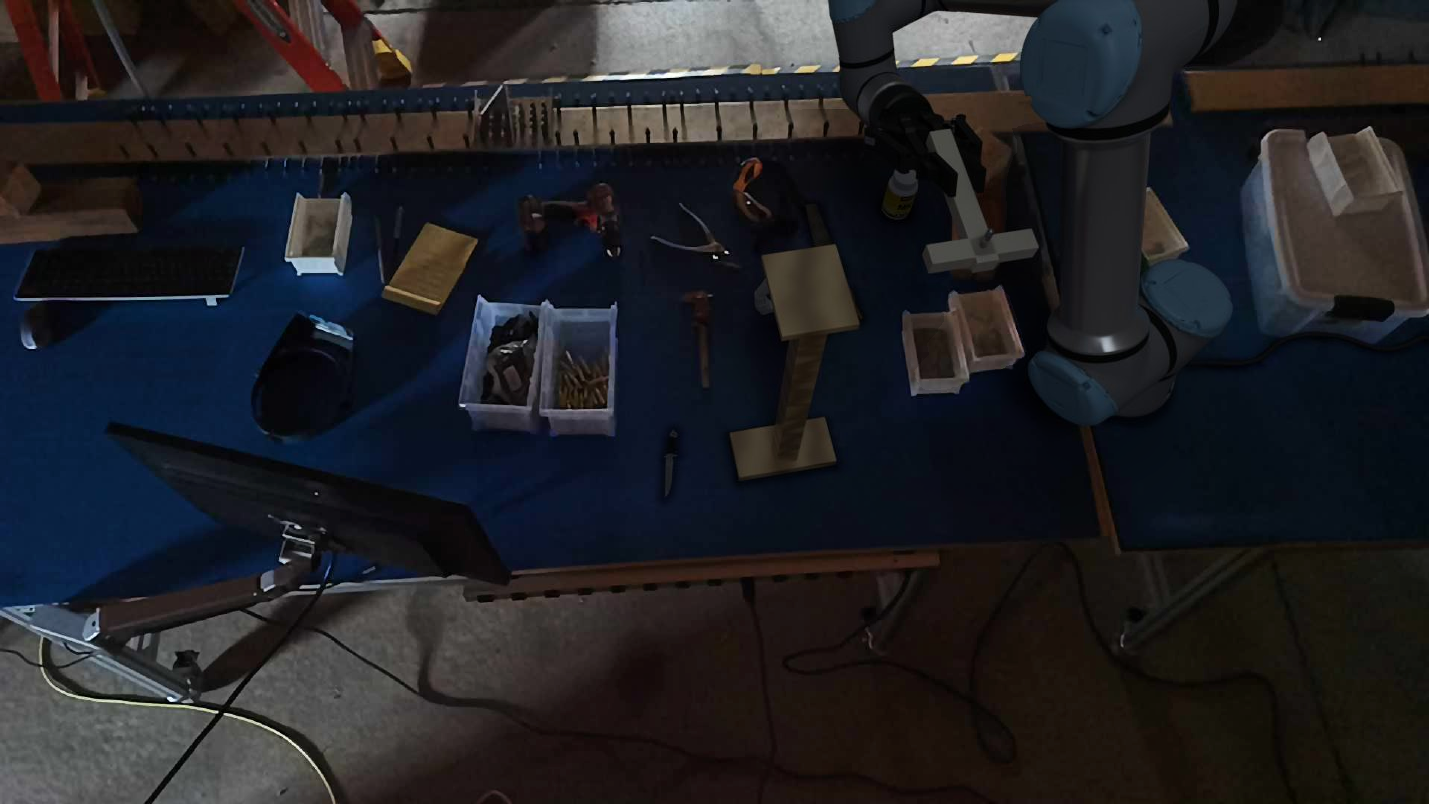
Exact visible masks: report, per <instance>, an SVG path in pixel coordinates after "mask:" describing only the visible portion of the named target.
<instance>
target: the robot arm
mask: <svg viewBox="0 0 1429 804" xmlns="http://www.w3.org/2000/svg"><path fill="white" fill-rule="evenodd" d="M827 4H828V5H827V6H828V13H829V19H830V20H831V25H832V30H833V34H834V40H835V44H836V49H837V53H838V66H839V69H838V73H837V76H836V88H837V91H838V94H839V96H840V98H841V100H842V102H843V103H844V104H845V106H846V107H847V108H848V109H849V110H850V111H852V113H853V114H854V115H856V116H857V118H858V119H859V120H861V122H862V123H863V124H864V125H865V127H864V129H863V149H864V150H867V151H869V152H872V153H874V154H876V155H877V156H878V157H880V158H881V159H882V160H883V161H885V163H886V164H888V165H889V166H890V167H892V168H893V169H894V171H895V170H897V171H898V172H899V173H901V174H908V173H909V172H910V170H915V172H916V179H917V180H918V181H925V180H927V181H929V182H934V184H936V186H937V187H939V189H940V190H941V191H942V193H943V192H944V193H945V194H946V195H947V196H948V197H949V198H951V197H956V191H957V181H958V173H957V172H956V171H955V170H954V169H953V168H952V167H951V166H950V165H949V164H948V163H947V162H946V161H945V160H944V159H943V158H942V157H941V156H940V155H939V154H938V153H937V152H929V151H928V148H927V145H926V141H927V138H928V135H929V133H930V132H931V131H938V130H945V129H951V132H952V135H953V137H954V140H955V143H956V145H957V148H958V151H959V153H960V156H961V159H962V161H963V164H964V166H965V169H966V172H967V174H968V177H969V180H970V182H971V185H972V188H973V190H974V193H975V194H983V193H985V187H986V186H985V185H986V179H987V178H986V177H987V171H988V169H987V168H986V167H985V166H984V165H983V164H982V153H983V145H984V142H983V140H982V139H981V138H980V137H979V135H978V134H977V133H976V132H975V131H974V129H973V128H972V126H970V125H969V123H968V122H967V115H966V114H964V113H958V114H956V115H955V117H952V118H951V119H945V118H944V116H943V115H942V114H939V113H936V112H934V109H933V107H932V105H931V103H930V100H928V98H927V97H925V96H924V95H923V94H922V93H921V91H919V90H918V89H916V87H914V85H912V84H911V83H910V82H909V81H907V80H906V79H905V78H904V77H902V75H900V73H899V72H898V68H897V61H896V60H897V59H896V53H895V51H896V49H895V41H894V33H896V32H897V31H900V30H901V29H903V28H905V27H907V26H909V25H911V24H913V23H915V22H917V21H919V20H921V19H923V18H925V17H926V16H928V15H931V14H932V13H935V12H947V13H967V14H979V15H980V14H981V15H993V16H994V15H996V16H997V15H998V16H1006V17H1007V16H1008V17H1022V18H1023V17H1024V18H1033V19H1034V18H1035V20H1034V21H1033V23H1032V24H1031V26H1030V28H1029V30H1028V31H1027V33H1026V35H1025V39H1024V40H1023V44H1022V48H1021V52H1020V60H1019V77H1020V83H1021V87H1022V90H1023V92H1024V95H1025V96H1026V97H1030V98H1031V103H1030V105H1029V106H1030V107H1031V109H1032V110H1033V111H1034V113H1035V114H1036V115H1037V116H1038V117H1039V118H1040V119H1042V120H1043V121H1044V122H1045V126H1046V128H1047V130H1048V131H1049V132H1050V133H1051V134H1052V135H1053V136H1055V137H1057V138H1058V139H1060V249H1059V250H1060V252H1059V253H1060V260H1059V261H1060V265H1059V266H1060V270H1059V271H1060V273H1059V278H1060V279H1059V290H1060V291H1059V305H1058V306H1056V307H1055V308H1054V309H1053V310H1052V311H1051V313H1050V314H1049V317H1048V318H1047V323H1046V329H1047V330H1046V346H1045V347H1044V349H1042V350H1039V351H1037V352H1036V353H1034V356H1032V358H1031V359H1030V360H1029V362H1028V366H1027V375H1028V377H1029V378H1028V379H1029V381H1030V384H1031V386H1032V387H1033V389H1034V391H1035V393H1036V394H1037V396H1038V398H1040V399H1041V401H1043V403H1044V404H1045V405H1046V406H1047V407H1048V408H1049V409H1050V410H1051V411H1052V412H1054V413H1055V414H1056V415H1058V416H1059V417H1060V418H1062V419H1063V420H1065V421H1068V422H1069V423H1072V424H1074V425H1077V426H1080V427H1091V426H1096V425H1099V424H1102V423H1103V422H1105V421H1106V420H1107V419H1113V420H1119V421H1135V420H1141V419H1145V418H1148V417H1149V416H1152V415H1153V414H1155V413H1156V412H1157V411H1158V410H1159V409H1160V408H1161V407H1162V406H1163V405H1165V404H1166V402H1167V401H1168V400H1169V398H1170V397H1171V394H1172V393H1173V390H1174V387H1175V384H1176V383H1175V382H1176V378H1177V377H1178V373H1179V371H1181V369H1183V368H1184V367H1187V366H1188V367H1193V366H1194V367H1196V366H1203V367H1204V366H1217V367H1245V366H1249V365H1254V364H1257V363H1259V362H1261V361H1263V360H1264V359H1266V358H1267V357H1268V356H1270V355H1271V354H1272V353H1273V352H1274V351H1275V350H1276V349H1278V348H1279V347H1280V346H1281V345H1282V344H1285V343H1287V342H1290V341H1294V340H1297V339H1302V338H1332V339H1338V340H1343V341H1346V342H1349V343H1352V344H1355V345H1357V346H1360V347H1363V348H1366V349H1369V350H1373V351H1377V352H1385V353H1386V352H1389V353H1391V352H1397V351H1401V350H1404V349H1406V348H1409V347H1411V346H1414V345H1415V344H1417V343H1420V342H1423V341H1425V342H1429V335H1425V334H1424V335H1420V336H1417V337H1415V338H1413V339H1411V340H1408V341H1406V342H1404V343H1401V344H1398V345H1393V346H1381V345H1376V344H1372V343H1368V342H1366V341H1364V340H1361V339H1358V338H1355V337H1352V336H1349V335H1345V334H1342V333H1337V332H1325V331H1307V332H1305V331H1304V332H1299V333H1294V334H1291V335H1288V336H1284V337H1283V338H1280V339H1278V340H1277V341H1275V342H1274V343H1273V344H1272V345H1271V346H1269V347H1268V348H1267V349H1266V350H1265V351H1264V352H1262V353H1261V354H1260V355H1258V356H1256V357H1253V358H1250V359H1247V360H1231V361H1230V360H1192V359H1193V358H1194V357H1195V356H1196V355H1197V354H1199V352H1200V351H1201V350H1202V349H1203V348H1204V347H1206V345H1207V344H1209V342H1210V341H1211V340H1213V339H1214V338H1216V337H1217V336H1219V335H1220V334H1221V333H1223V331H1224V329H1225V327H1226V326H1227V324H1228V323H1229V321H1230V320H1231V318H1232V315H1233V312H1234V311H1233V310H1234V309H1233V308H1234V307H1233V303H1232V301H1231V299H1232V297H1231V293H1230V291H1229V290H1228V288H1227V286H1226V285H1225V283H1224V282H1223V281H1222V280H1221V279H1220V278H1219V277H1218V276H1217V275H1216V274H1215V273H1214V272H1212V271H1211V270H1209V269H1208V268H1206V267H1204V266H1203V265H1201V264H1198V263H1197V262H1194V261H1186V260H1184V259H1181V258H1167V259H1163V260H1159V261H1158V262H1156V263H1154V264H1152V265H1151V266H1150V267H1149V268H1147V269H1146V270H1145V271H1143V272H1142V274H1141V268H1142V267H1141V266H1142V251H1143V240H1144V225H1145V214H1146V199H1147V188H1148V187H1147V186H1148V175H1149V174H1148V173H1149V161H1150V148H1151V136H1152V135H1151V134H1152V133H1153V131H1155V130H1156V129H1157V128H1159V127H1160V126H1161V125H1162V124H1164V123H1165V122H1166V120H1167V118H1168V117H1169V115H1170V109H1171V98H1172V97H1171V95H1172V88H1173V87H1172V86H1173V77H1174V74H1175V72H1177V71H1178V70H1180V69H1181V68H1183V67H1185V66H1186V65H1188V64H1189V63H1191V62H1193V60H1196V59H1197V58H1198V57H1200V56H1201V55H1203V54H1204V53H1206V52H1207V51H1209V50H1210V49H1211V48H1212V47H1213V46H1214V44H1216V43H1217V42H1218V40H1220V38H1221V37H1222V36H1223V35H1224V33H1225V31H1227V29H1228V27H1229V25H1230V24H1231V22H1232V19H1233V17H1234V14H1235V12H1236V8H1237V5H1238V0H827ZM944 193H943V194H944Z"/></svg>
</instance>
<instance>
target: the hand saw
mask: <svg viewBox="0 0 1429 804" xmlns="http://www.w3.org/2000/svg"><path fill="white" fill-rule="evenodd" d="M804 208H805V212H806V213H805V214H806V216H807V219H808V225H809V228H810V229H809V230H810V234H811V238H812V242H813V248H814V247H820V246H827V245H833V243H832V240H831V237H830V235H829V233H828V230H827V228H826V225H825V223H824V220H823V218H822V215H821V212H820V209H819V207H818V205H817V204H816V203H806V204H804ZM847 283H848V286H849V290H850V293H851V296H852V300H853V303H854V306H855V310H856V313H857V316H858V319H859V321H861V320H863V315H862V313H861V311H860V310H859V308H858V306H857V304H856V302H855V301H856V298H855V295H854V293H853V291H852V288H851V287H850V284H849V282H848V281H847Z"/></svg>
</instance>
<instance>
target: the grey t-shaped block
mask: <svg viewBox="0 0 1429 804" xmlns="http://www.w3.org/2000/svg"><path fill="white" fill-rule="evenodd" d="M926 145H927V148H928V150H927V151H928V153H929V152H937V153H938V154H939V155H940V156H941V157H942V158H943V159H944V160H945V161H946V162H947V163H948V164H949V165H950V166H951V167H952V168H953V169H954V170H955V171H956V172H957V173H958V181H957V191H956V197H951V198H949V197H948V196H947V195H946V194H945V193H944V192H943V191H942V193H943V196H944V198H945V201H946V205H947V206H948V209H949V213H950V215H951V218H952V221H953V223H954V226H955V229H956V232H957V234H958V238H959V239H956V240H949V241H941V242H936V243H929V244H926V245H925V247H924V250H923V252H922V254H921V256H922V258H923V261H924V265H925V267H926V270H927V274H935V273H942V272H948V271H953V270H954V271H955V270H961V269H967V268H970V271H971V273H972V274H974V273H980V272H987V271H992V270H995V269H996V266H997V265H998V264H999V263H1005V262H1011V261H1017V260H1023V259H1030V258H1033V257H1034V256H1035V254H1036V253H1037V252H1038V250H1039V248H1040V246H1039V244H1038V241H1037V238H1036V237H1035V233H1034V231H1033V229H1032V228H1025V229H1020V230H1013V231H1007V232H1001V233H995V229H994V228H992V227H990V228H988V225H987V223H986V219H985V217H984V215H983V212H982V209H981V207H980V204H979V201H978V199H977V196H976V192H975V191H974V190H973V188H972V185H971V182H970V180H969V177H968V174H967V172H966V169H965V166H964V164H963V161H962V159H961V156H960V153H959V151H958V148H957V145H956V143H955V140H954V137H953V135H952V132H951V129H945V130H938V131H931V132H930V133H929V135H928V138H927V141H926Z"/></svg>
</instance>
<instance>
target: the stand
mask: <svg viewBox="0 0 1429 804" xmlns="http://www.w3.org/2000/svg"><path fill="white" fill-rule="evenodd" d="M760 257H761V258H760V262H761V266H762V270H763V274H764V279H765V278H766V282H767V286H768V290H769V294H768V295H769V297H770V301H771V302H772V306H773V310H774V312H773V313H774V317H775V321H776V325H777V329H778V332H779V337H780V340H781V342H784V341H788V346H787V351H786V357H785V362H784V363H785V364H784V369H783V375H782V381H781V388H780V394H779V400H778V405H777V412H776V416H775V422H774V423H775V424H774V425H767V426H761V427H756V428H749V429H744V430H738V431H731V432H729V441H730V447H731V451H732V455H733V461H734V465H735V470H736V474H737V480H738V482H744V481H748V480H754V479H755V480H756V479H760V478H766V477H772V476H778V475H783V474H789V473H796V472H800V471H806V470H812V469H819V468H824V467H829V466H835V465H836V463H837V457H836V453H835V450H834V446H833V443H832V439H831V434H830V431H829V428H828V423H827V419H826V417H825V416H821V417H820V416H819V417H815V418H809V419H808V416H809V413H810V409H811V404H812V400H813V396H814V391H815V387H816V383H817V379H818V375H819V371H820V366H821V363H822V358H823V355H824V352H825V351H824V350H825V346H826V342H827V338H828V335H829V334H835V333H842V332H848V331H854V330H859V328H860V326H861V323H860V320H859V318H858V316H857V313H856V310H855V306H854V303H853V300H852V296H851V293H850V290H849V287H850V285H849V286H848V284H849V282H848V280H847V277H846V274H845V270H844V267H843V264H842V260H841V257H840V254H839V251H838V248H837V245H836V244H835V243H834V244H832V245H827V246H820V247H814V246H813V247H808V248H807V247H806V248H800V249H795V250H788V251H781V252H775V253H767V254H762V255H761V256H760ZM847 282H848V283H847Z"/></svg>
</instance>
